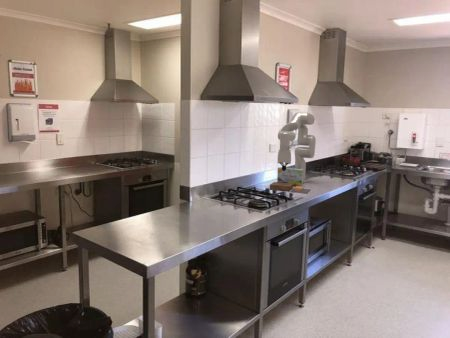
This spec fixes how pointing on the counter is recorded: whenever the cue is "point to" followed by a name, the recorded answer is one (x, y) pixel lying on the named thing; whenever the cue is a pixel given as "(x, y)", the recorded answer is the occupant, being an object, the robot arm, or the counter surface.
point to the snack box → (290, 176)
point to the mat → (302, 191)
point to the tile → (298, 188)
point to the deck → (281, 186)
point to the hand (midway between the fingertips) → (283, 170)
